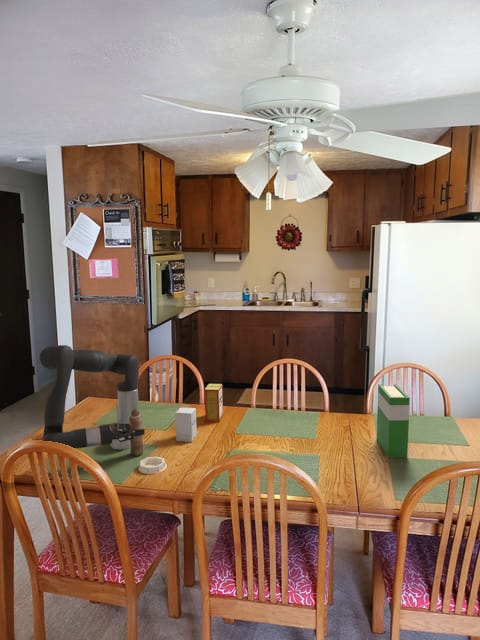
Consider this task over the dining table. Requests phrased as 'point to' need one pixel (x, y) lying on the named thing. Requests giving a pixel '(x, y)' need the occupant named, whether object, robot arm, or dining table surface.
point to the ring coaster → (152, 465)
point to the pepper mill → (137, 442)
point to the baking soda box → (213, 403)
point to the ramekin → (120, 444)
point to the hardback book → (393, 420)
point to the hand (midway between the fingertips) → (142, 429)
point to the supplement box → (185, 424)
